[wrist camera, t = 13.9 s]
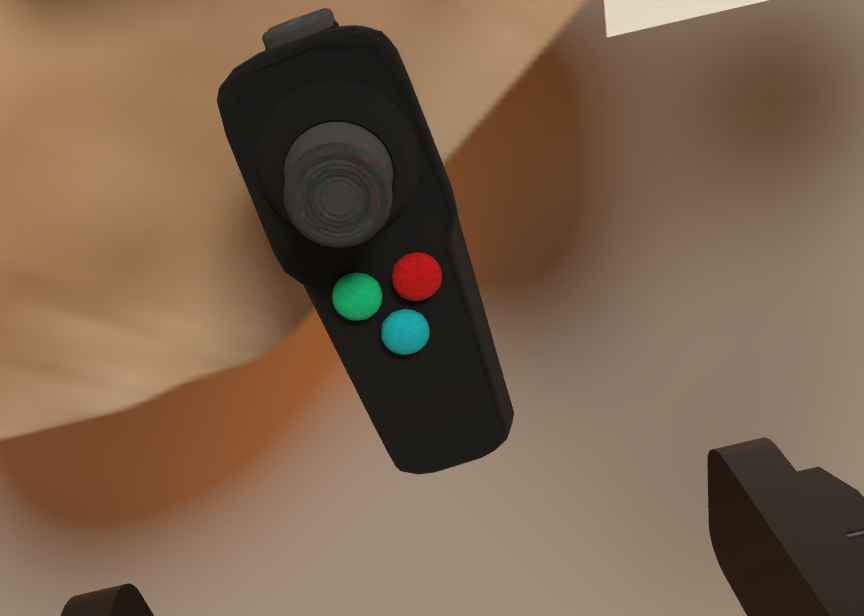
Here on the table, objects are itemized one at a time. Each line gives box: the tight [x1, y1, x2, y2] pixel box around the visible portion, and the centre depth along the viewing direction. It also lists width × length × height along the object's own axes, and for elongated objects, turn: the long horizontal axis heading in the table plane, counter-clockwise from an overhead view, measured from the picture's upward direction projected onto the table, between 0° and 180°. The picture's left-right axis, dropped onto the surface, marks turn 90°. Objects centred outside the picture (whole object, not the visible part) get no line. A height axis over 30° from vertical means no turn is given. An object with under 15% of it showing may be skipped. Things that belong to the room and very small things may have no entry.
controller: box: [217, 8, 514, 474], centre depth 20 cm, size 4×12×10 cm, turn 18°
